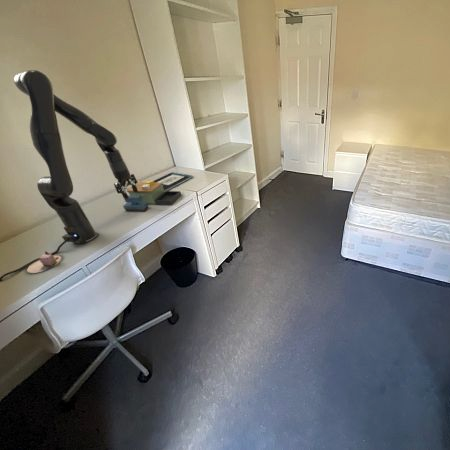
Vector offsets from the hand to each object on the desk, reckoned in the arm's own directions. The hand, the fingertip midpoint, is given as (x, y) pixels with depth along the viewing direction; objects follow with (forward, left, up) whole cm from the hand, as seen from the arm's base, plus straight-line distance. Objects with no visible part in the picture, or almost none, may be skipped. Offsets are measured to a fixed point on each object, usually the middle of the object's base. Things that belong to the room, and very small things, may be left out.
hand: (131, 195), depth 150 cm
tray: (+13, -13, -10) cm, 21 cm away
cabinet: (+13, 0, -10) cm, 16 cm away
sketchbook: (+39, +2, -10) cm, 40 cm away
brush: (0, 0, -10) cm, 10 cm away
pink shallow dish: (-50, +11, -10) cm, 52 cm away
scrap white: (+10, -3, 0) cm, 10 cm away
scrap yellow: (+16, -2, 0) cm, 16 cm away
